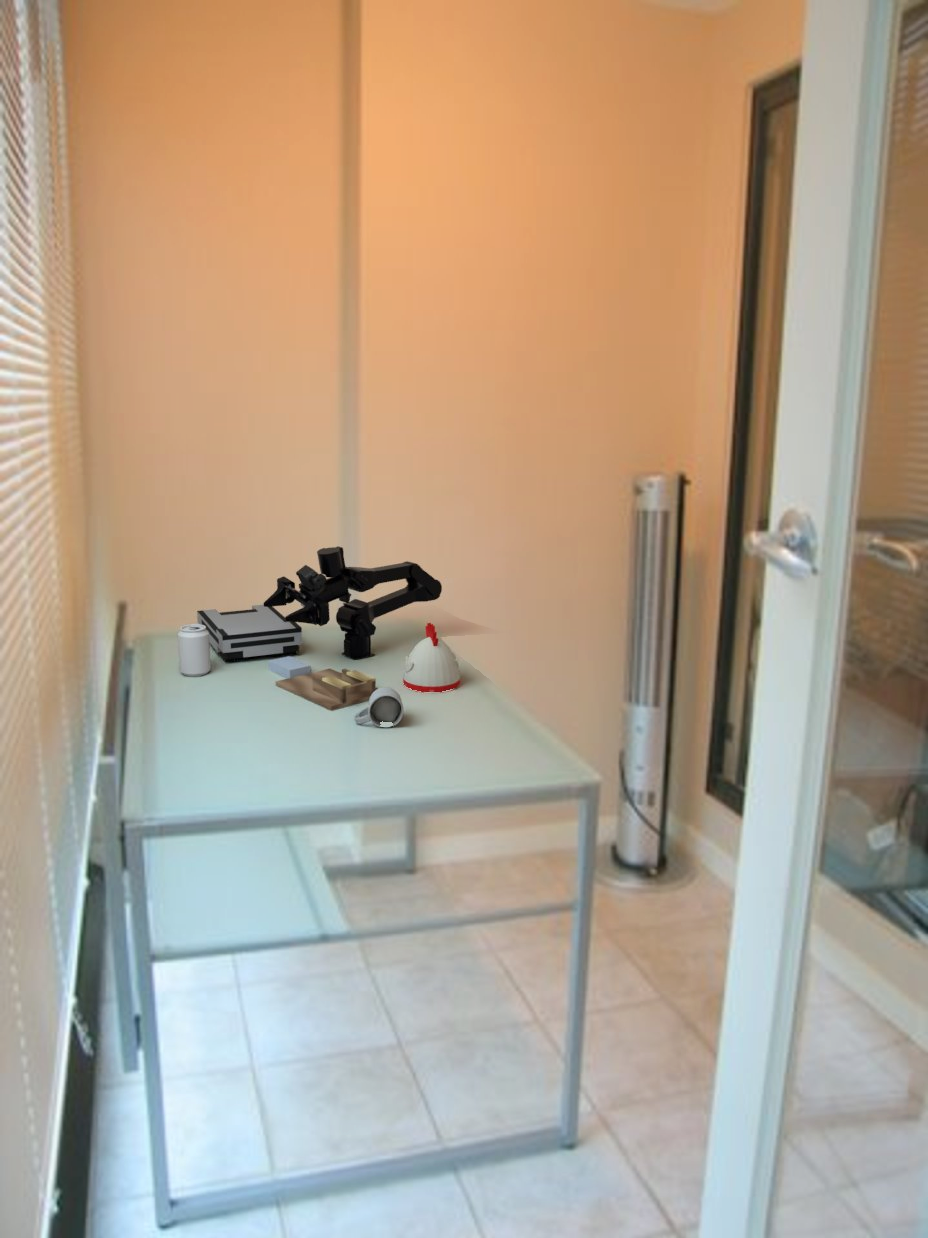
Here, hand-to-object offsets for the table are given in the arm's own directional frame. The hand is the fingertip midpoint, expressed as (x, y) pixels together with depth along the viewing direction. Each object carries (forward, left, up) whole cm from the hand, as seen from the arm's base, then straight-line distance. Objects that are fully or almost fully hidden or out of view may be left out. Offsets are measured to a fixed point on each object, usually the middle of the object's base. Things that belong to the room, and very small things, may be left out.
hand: (274, 611), depth 257 cm
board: (-3, +18, -16) cm, 25 cm away
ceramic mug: (+1, +43, -17) cm, 46 cm away
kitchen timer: (-25, +30, -17) cm, 42 cm away
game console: (-8, -27, -17) cm, 33 cm away
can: (+15, -14, -16) cm, 26 cm away
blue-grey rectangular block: (-3, +1, -17) cm, 17 cm away
